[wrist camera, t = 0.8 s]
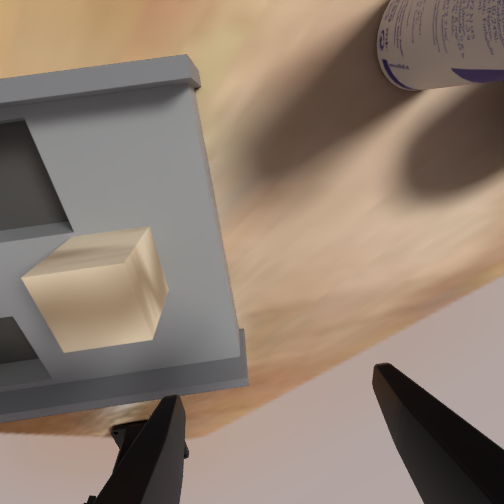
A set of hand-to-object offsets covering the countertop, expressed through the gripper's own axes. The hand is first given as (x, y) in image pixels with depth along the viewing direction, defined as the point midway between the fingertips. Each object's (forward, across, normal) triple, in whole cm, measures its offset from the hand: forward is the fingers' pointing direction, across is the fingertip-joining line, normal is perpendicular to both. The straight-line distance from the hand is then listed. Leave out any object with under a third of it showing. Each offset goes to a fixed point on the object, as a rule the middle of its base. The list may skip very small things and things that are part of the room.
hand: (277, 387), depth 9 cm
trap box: (+13, +14, 0) cm, 19 cm away
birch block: (+10, +8, 0) cm, 13 cm away
